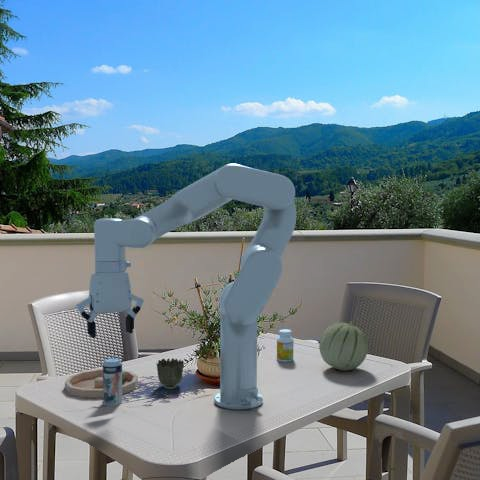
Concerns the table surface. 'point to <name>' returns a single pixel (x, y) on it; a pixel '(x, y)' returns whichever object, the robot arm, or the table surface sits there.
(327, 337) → the cantaloupe
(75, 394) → the saucer
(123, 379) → the bead
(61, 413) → the table surface
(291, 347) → the supplement bottle
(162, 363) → the cup
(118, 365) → the beer can
